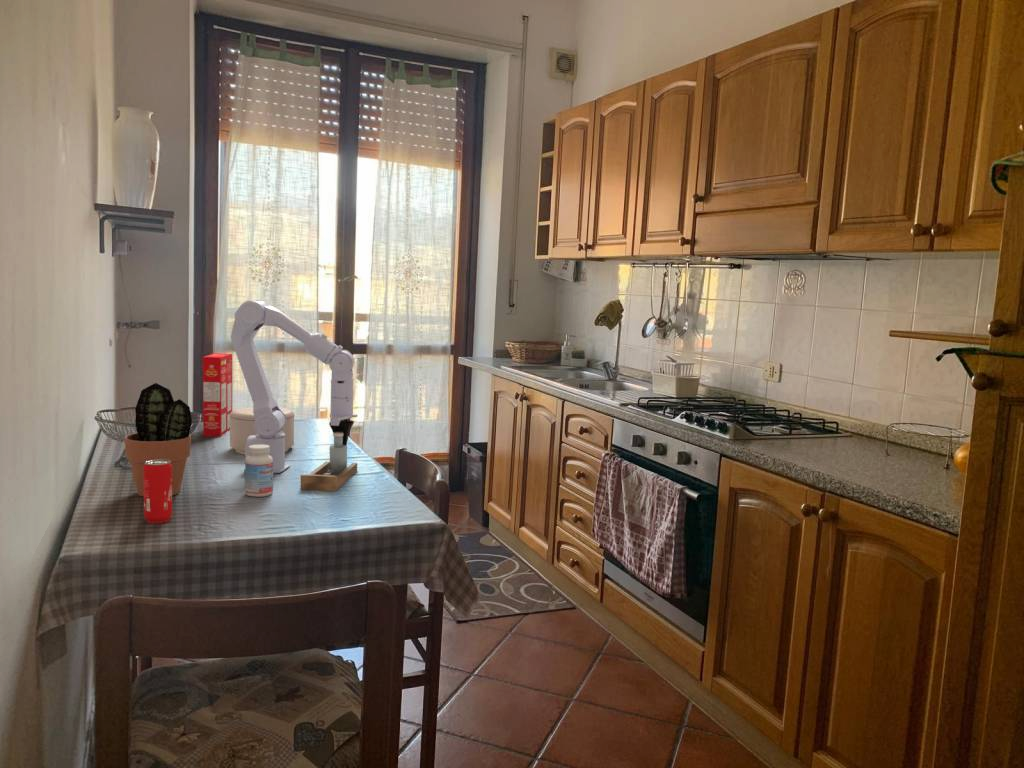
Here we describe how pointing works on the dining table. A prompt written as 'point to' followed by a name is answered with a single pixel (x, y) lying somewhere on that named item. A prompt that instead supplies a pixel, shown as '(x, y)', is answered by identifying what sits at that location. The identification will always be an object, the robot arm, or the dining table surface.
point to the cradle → (326, 478)
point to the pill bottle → (259, 471)
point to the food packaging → (217, 393)
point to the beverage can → (157, 490)
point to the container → (244, 428)
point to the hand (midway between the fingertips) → (341, 448)
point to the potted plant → (159, 434)
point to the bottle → (338, 454)
